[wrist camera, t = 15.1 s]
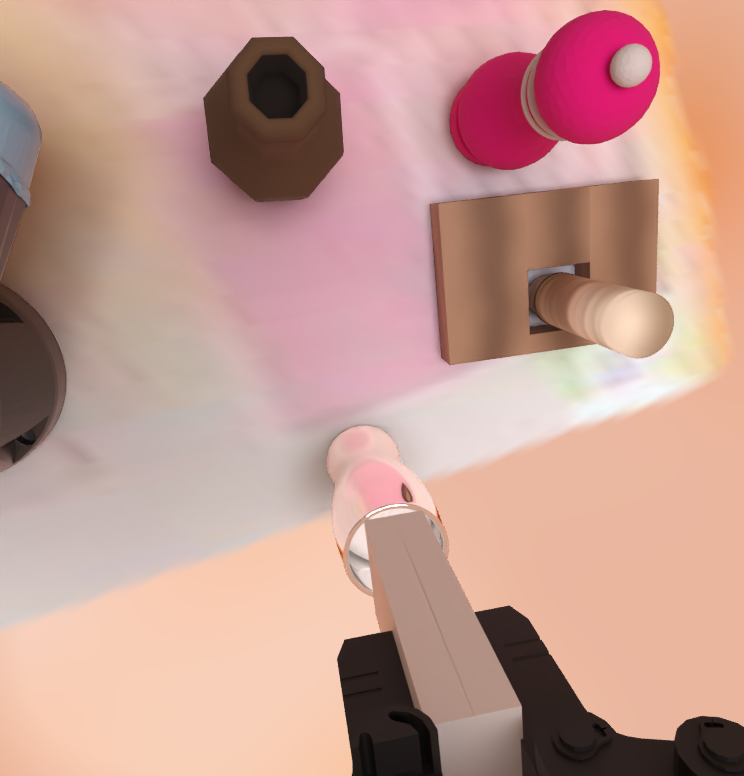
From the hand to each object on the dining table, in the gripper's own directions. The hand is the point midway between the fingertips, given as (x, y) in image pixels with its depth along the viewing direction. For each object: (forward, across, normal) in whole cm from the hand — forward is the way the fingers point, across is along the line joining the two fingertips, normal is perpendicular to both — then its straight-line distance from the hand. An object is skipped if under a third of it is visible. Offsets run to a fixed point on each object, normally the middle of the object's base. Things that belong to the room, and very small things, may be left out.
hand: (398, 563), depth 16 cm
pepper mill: (+35, +15, +13) cm, 40 cm away
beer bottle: (+35, -1, +13) cm, 37 cm away
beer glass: (+35, +3, -12) cm, 37 cm away
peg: (+34, +19, 0) cm, 39 cm away
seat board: (+34, +18, +2) cm, 39 cm away
